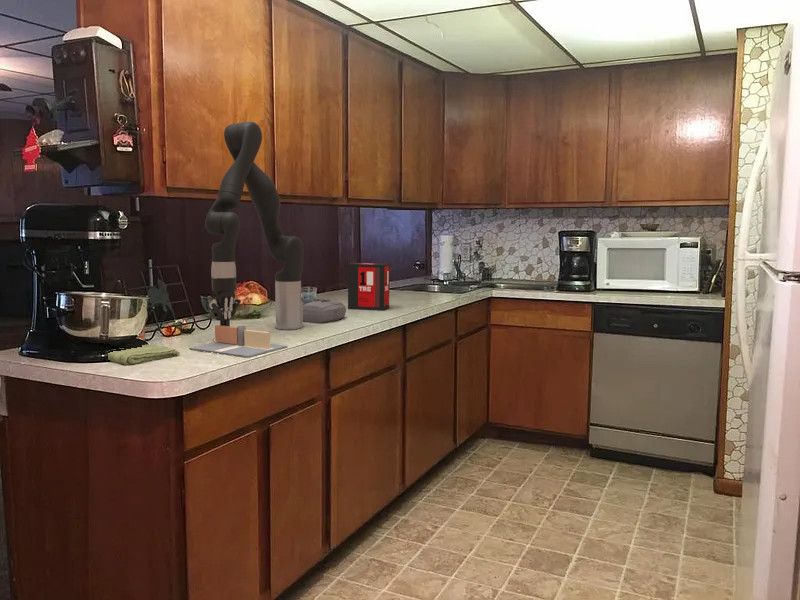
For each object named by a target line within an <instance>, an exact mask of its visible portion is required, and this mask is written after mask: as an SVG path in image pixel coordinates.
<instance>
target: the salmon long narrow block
mask: <svg viewBox="0 0 800 600" xmlns="http://www.w3.org/2000/svg"><path fill="white" fill-rule="evenodd" d="M214 341H215V342H224V343H232V344H238V326H231V325H230V326H221V325H220V324H219V325H218V324H217V325H216V324H215V325H214Z"/></svg>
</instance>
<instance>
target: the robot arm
mask: <svg viewBox="0 0 800 600" xmlns="http://www.w3.org/2000/svg"><path fill="white" fill-rule="evenodd" d="M223 137H224V138H223V139H224V141H225V144H226V147H227V149H228V151H229V154H230V155H231V157H232V158H233V161H234V162H233V164H231V166H230V167H229V169H227V171H226V172H225V174H224V176H223V178H222V180H221V183H220V186H219V189H218V195H217V197H216V199H215V200H214V202H213V204H212V206H211V207H210V209H209V210H208V212H207V214H206V217H205V221H204V222H205V224H204V226H205V230H207V232H208V233H209V234H211V235H221V236H222V235H224V237H223V239H222V240H221V241H218V242H214V243H213V244H212V246H211V267H210V268H211V269H210V270H211V275H210V276H211V291H212V292H213V295H212V300H211V302H208V303H207V304H206V305H207V307H208V308H209V310H210V312H211V313H212V316H213V317H215V318H218V319H219V325H221V326H230V327H231V321H230V319H231V318H232V317H234V316H235V314H236V313H237V311H238V308H239V306H240V304H241V302H242V300H241V299H239V298H237V297H236V291H237V265H236V246H237V242H238V237H239V233H240V229H241V221H240V218H239V216H238V214H237V213H235V212H233V211H232V210H236V209H237V208H239V206H240V203H241V200H242V196H243V191H244V187H245V186H246V189H247V192H248V195H249V197H250V199H251V202H252V204H253V206H254V207H253V208H255V211H256V212H257V215H258V218H259V221H260V224H261V227H262V229H263V233H264V236H265V239H266V242H267V246H268V249H269V253H270V255H271V257H272V258H273V259H274V260H275V261H277V262H284V263H283V264H284V265H283V268H282V269H281V270H279V271H276V273H275V275H274V279H275V281H274V284H275V285H274V287H275V288H274V289H275V290H274V291H275V292H274V293H275V299H274V300H275V301H274V302H275V328H276V329H278V330H298V329H302V327H304V321H303V305H304V304H303V300H302V275H303V272H304V259H305V258H304V257H305V256H304V254H305V251H304V249H305V248H304V243H303V241H302V239H301V238H300V237H298V236H293V235H285V234H284V233H283V231H282V229H281V225H280V222H279V221H280V220H279V216H280V210H281V205H282V204H281V197H280V195H279V193H278V190H277V187H276V185H275V182H274V181H273V180H272V179H271V177H270V176H268V175H267V173H265V172H264V171H263V170H262V169H261V168H260V167H259V166H258V165H257V164H256V163H255V160H256V157H257V154H258V152H259V150H260V148H261V147H262V146H261V145H262V142H263V133H262V129H261V127H260V125H258V123H256V122H254V121H243V122H237V123H232V124H229V125H226V126H225V128H224V131H223Z"/></svg>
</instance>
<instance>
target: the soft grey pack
mask: <svg viewBox="0 0 800 600" xmlns="http://www.w3.org/2000/svg"><path fill="white" fill-rule="evenodd" d="M346 312H347V308H346V305H344V304H343V303H342V302H340V301H336V300H331V299H324V298H323V299H320V298H319V299H318V298H317V299H314V300H313V301H311V302H308V303H304V304H303V323H312V324H323V323H331V322H337V321H339V320H341V319H344V318H345V315H346Z"/></svg>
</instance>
